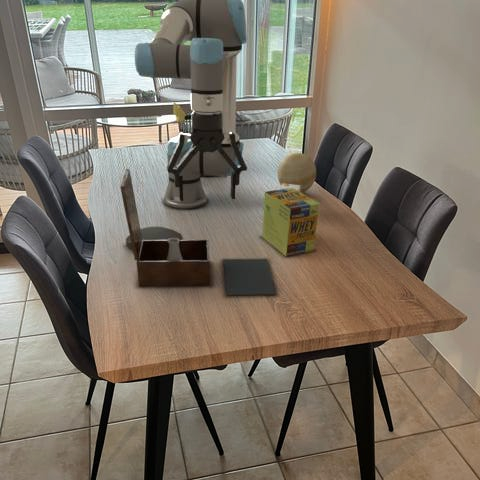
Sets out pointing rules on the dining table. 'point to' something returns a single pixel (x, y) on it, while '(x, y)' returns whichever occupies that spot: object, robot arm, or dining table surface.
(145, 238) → the dark grey disc
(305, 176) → the beige round ball
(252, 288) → the place mat
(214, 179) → the dining table surface
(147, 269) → the open wooden box
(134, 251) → the lid
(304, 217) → the protein box
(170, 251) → the flask
